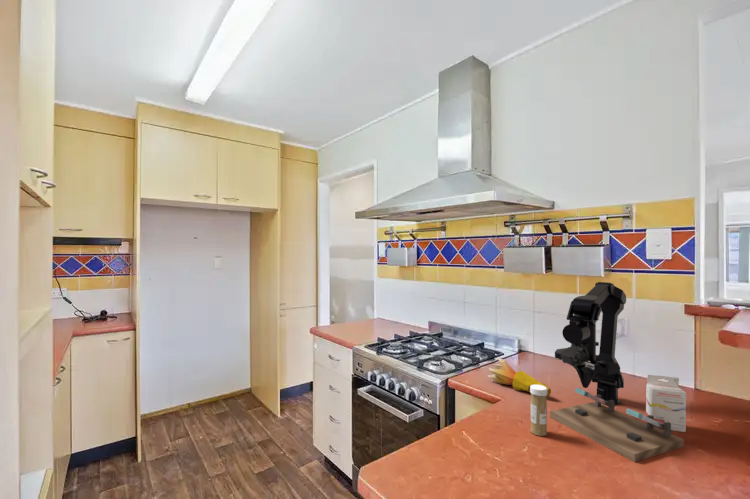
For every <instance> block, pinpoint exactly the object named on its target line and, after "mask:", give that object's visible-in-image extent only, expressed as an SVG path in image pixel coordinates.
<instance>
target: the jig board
mask: <svg viewBox="0 0 750 499" xmlns="http://www.w3.org/2000/svg"><path fill="white" fill-rule="evenodd" d="M594 396H596V397H598V398H601V395H597V394H595V395H594ZM549 413H550V415H549V416H550V417H549V418H551V419H552V420H554V421H556V422H558V423H560V424H562V425H564V426H566V427H567V428H570V429H571V430H573V431H575V432H577V433H578V434H581V435H583V436H585V437H587V438H588V439H589V440H592V441H594V442H595V443H598V444H599V445H601V446H603V447H604V448H605V447H606V448H607V449H609V450H611V451H613V452H614V453H616V454H618V455H620V456H622V457H624V458H626V459H628V460H630V461H631V462H633V463H636V462H639V461H643V460H646V459H648V458H652V457H655V456H658V455H661V454H665V453H668V452H671V451H674V450H677V449H680V448H683V447H684V446H685V443H684V442H685V440H684V438H681V437H679V436H677V435H675V434H672V430H671V423H669V422H666V423H664V430H663V429H661V428H656V427H654V425H652V424H650V423H648V422H645V421H644V422H643V420H639V419H638V418H637V419H636V418H635V417H633V416H631V415H628V414H624V413H622V412H619V411H618V410H615V405H614V400H608V406H606V405H604V404H601V403H599V402H597V401H595V400H594V401H591V402H588V403H587V402H586V403H582V404H578V405H573V406H569V407H564V408H558V409H553V410H551V411H550V412H549ZM647 417H648V418H651V419H653V420H654V416H652V415H649V416H647Z"/></svg>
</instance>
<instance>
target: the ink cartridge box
mask: <svg viewBox="0 0 750 499" xmlns="http://www.w3.org/2000/svg"><path fill="white" fill-rule="evenodd" d="M646 377H647V380H646V382H647V383H646V385H645V386H646V390H645V391H646V393H645V395H646V398H645V399H646V402H645V416H646V417H647V416H649V415H652V416H654V420H655V421H657V422H660V423H662V424H664V423H666V422H669V423H671V431H673V432H674V431H675V432H682V433H686V432H687V427H686V426H687V424H686V423H687V392H685V391H684V390H683V389H681V388H680V387H679V384H680V383H679V382H680V378H679V377H675V376H668V375H667V376H666V375H657V374H656V375H655V374H647V376H646ZM661 380H662V381H661ZM663 380H665V381H663ZM654 427H656V426H654ZM656 428H658V429H660V428H659V427H656Z"/></svg>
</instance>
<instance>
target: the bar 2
mask: <svg viewBox="0 0 750 499" xmlns="http://www.w3.org/2000/svg"><path fill="white" fill-rule="evenodd" d="M625 413H626V415H628V416H631V417H633V418H635V419H636V418H637V419H638V420H639V419H640V421H642V422H643V421H644V422H645V423H647V422H648V423H650V424H652V425H654V426H656V427H659V428H658V429H661V430H663V431H664V424H662V423H660V422H657V421H655V420H653V419H651V418H648V417H646V415H644V414H642V413H640V412H638V411H635V410H634V409H631V408H627V409H626V411H625Z"/></svg>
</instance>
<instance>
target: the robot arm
mask: <svg viewBox="0 0 750 499" xmlns="http://www.w3.org/2000/svg"><path fill="white" fill-rule="evenodd" d="M626 303H627V295H626V293H625V291H624V290H623V289H621V288H619V287H617V286H615V284H614V283H612V282H605V281H604V282H603V281H598V282H595V284H594V286H593V287H592V288H591V289H590V291H588V292H587V293H586V294H585V295H578V296H576V297H574V298H572V301H571V302H570V304H569V308H568V312H567V315H566V320H568V321H569V324H566V325H565V326H564V327H563V329H562V332H561V334H562V336H563V339H565V341H566V342H568V344H570V346H569V347H568V346H567V347H565V348H557V349H556V350H554V358H555V359H558V360H560V361H562V362H563V363H562V364H568V365H570V366H571V367H573V368H574V369H575V370H576V372H577V375H578V377H579V380H580V383H581V385H582V387H583V388H584V389H588V388H589V386H590V384H591V382H592V383H597V384H596V395H601V399H603V400H605V401H608V400H614V406H615V405H621V404H623V401H622V400H619V389H624V388H625V384H624V383H625V381H624V380H625V379H624V377H623V373H622V372H621V366H620V364H619V362H618V360H617V359H616V357H615V356H616V343H617V342H616V341H617V330H618V329H617V328H618V318H619V315H620V314H621V313H622V312H623V310H624V309H625V308H624V307H625V305H626ZM601 313H602V314H601ZM600 315H601V316H602V317H601V328H600V342H598V341H597V330H596V329H597V325H596V323H597V321H599V318H600ZM597 347H599V352H598V354H596V353H597Z"/></svg>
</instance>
